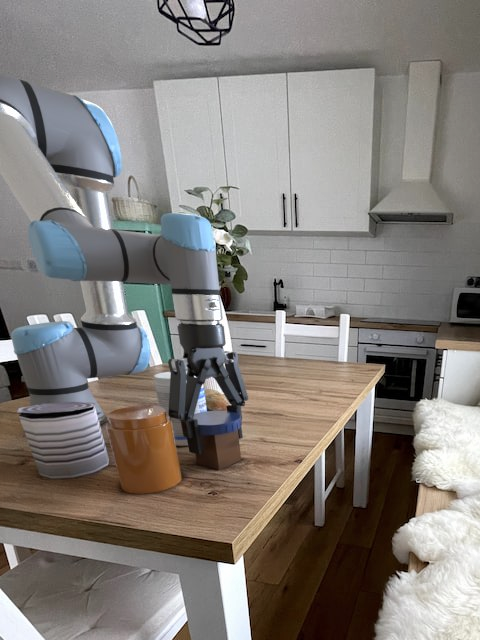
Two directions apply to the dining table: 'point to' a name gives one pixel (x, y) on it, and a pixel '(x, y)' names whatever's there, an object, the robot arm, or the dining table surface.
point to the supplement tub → (163, 400)
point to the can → (64, 438)
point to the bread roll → (215, 400)
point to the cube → (219, 450)
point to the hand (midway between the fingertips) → (217, 444)
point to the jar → (144, 449)
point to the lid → (218, 422)
